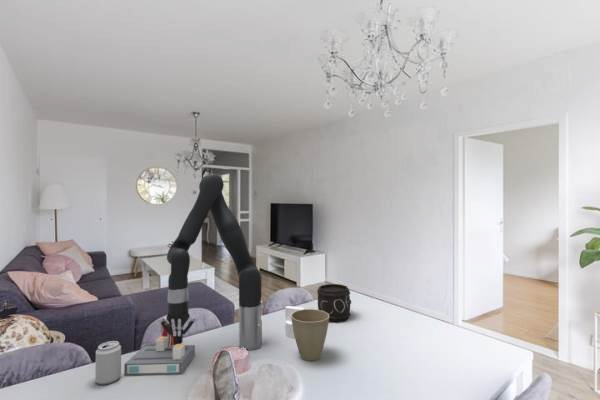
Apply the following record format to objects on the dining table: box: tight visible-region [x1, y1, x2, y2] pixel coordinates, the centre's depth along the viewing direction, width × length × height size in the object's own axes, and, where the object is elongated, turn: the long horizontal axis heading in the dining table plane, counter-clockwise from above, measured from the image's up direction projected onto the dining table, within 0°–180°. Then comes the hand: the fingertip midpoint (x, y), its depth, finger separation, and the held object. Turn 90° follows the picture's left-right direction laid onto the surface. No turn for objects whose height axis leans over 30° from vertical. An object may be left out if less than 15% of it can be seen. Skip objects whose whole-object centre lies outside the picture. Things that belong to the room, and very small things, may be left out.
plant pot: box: [291, 308, 330, 362], centre depth 119 cm, size 15×15×16 cm
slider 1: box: [155, 336, 168, 351], centre depth 118 cm, size 3×4×4 cm
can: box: [95, 340, 122, 386], centre depth 105 cm, size 8×8×12 cm
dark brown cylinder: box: [316, 283, 352, 324], centre depth 162 cm, size 18×18×16 cm
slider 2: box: [173, 343, 186, 360], centre depth 111 cm, size 3×4×4 cm
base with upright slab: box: [284, 305, 306, 339], centre depth 141 cm, size 9×9×12 cm
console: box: [123, 344, 196, 376], centre depth 114 cm, size 20×14×4 cm
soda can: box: [160, 314, 175, 346], centre depth 132 cm, size 7×7×12 cm
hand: (178, 344), depth 118 cm, fingers closed
